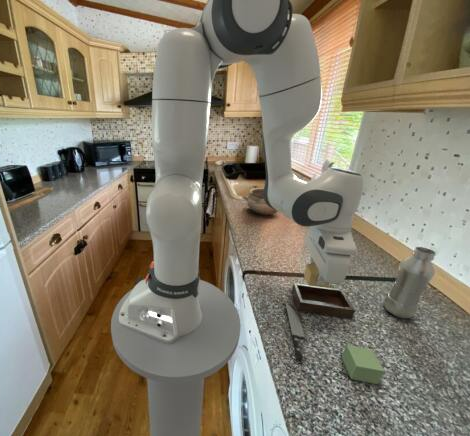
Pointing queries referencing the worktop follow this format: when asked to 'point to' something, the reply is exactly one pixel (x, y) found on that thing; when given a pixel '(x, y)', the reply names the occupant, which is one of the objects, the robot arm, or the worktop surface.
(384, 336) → the worktop surface
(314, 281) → the tan block
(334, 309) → the brown wooden tray
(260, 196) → the cooking pot
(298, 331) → the chef's knife
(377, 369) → the green block
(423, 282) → the plastic bottle
